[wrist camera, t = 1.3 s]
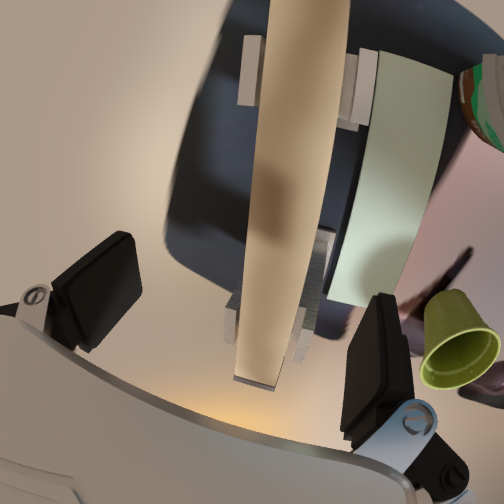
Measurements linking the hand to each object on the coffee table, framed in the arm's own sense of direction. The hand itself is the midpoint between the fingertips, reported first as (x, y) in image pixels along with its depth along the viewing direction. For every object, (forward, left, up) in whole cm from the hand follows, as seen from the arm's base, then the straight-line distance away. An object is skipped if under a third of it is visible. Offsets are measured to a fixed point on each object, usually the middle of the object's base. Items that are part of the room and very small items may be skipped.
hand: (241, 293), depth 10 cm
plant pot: (-20, +11, -18) cm, 29 cm away
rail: (-1, 0, -7) cm, 7 cm away
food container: (-17, -10, -18) cm, 27 cm away
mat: (-9, 0, -18) cm, 20 cm away
